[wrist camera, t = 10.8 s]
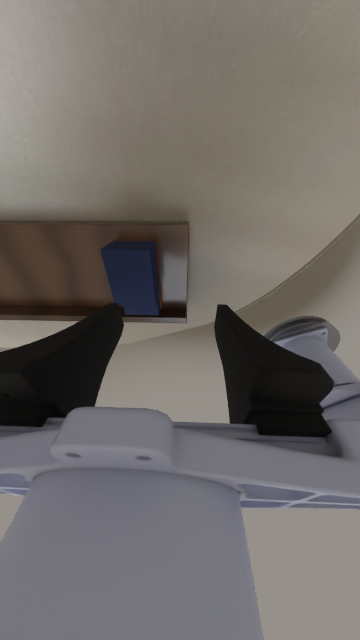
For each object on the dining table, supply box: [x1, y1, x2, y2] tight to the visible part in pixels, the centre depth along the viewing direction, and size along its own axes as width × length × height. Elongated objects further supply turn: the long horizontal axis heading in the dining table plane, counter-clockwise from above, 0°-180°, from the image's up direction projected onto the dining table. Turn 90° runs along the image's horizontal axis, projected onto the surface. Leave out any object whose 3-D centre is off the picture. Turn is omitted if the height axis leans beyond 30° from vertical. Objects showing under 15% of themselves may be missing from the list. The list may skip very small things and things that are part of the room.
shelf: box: [0, 221, 189, 323], centre depth 19 cm, size 36×10×4 cm, turn 90°
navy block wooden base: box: [100, 239, 162, 315], centre depth 17 cm, size 8×4×4 cm, turn 0°
